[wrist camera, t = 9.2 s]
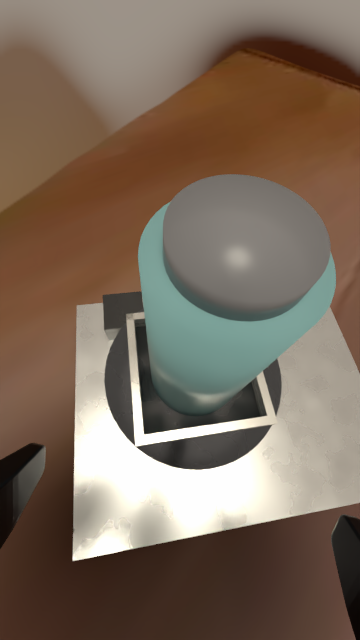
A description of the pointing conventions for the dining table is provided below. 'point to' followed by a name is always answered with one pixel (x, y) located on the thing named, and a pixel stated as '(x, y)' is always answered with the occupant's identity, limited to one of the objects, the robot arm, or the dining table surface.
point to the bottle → (229, 286)
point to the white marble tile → (205, 438)
